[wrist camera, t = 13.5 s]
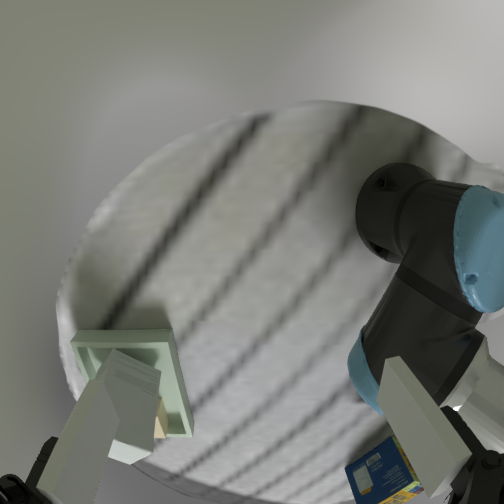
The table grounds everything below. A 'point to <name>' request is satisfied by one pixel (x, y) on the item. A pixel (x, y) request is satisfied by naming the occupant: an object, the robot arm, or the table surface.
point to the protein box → (383, 476)
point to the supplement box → (131, 404)
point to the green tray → (146, 351)
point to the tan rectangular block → (161, 420)
